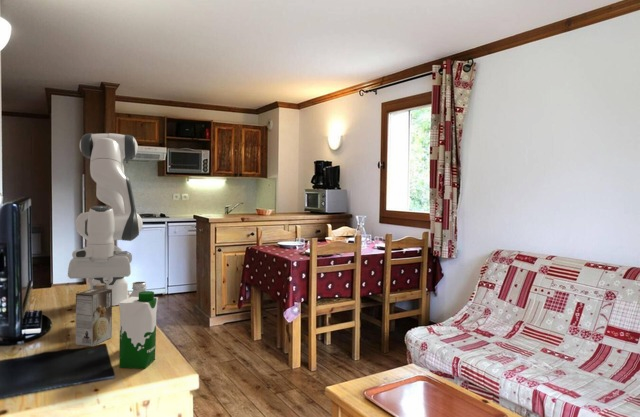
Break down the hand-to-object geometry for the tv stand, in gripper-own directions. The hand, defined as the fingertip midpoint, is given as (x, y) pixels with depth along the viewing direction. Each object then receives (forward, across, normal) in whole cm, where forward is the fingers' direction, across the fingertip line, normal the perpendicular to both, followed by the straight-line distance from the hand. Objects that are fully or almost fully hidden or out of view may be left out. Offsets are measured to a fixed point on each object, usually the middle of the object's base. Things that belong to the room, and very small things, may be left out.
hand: (99, 289), depth 161 cm
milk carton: (+12, -13, +44) cm, 47 cm away
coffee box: (+12, 0, +20) cm, 24 cm away
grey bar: (+2, 0, +4) cm, 4 cm away
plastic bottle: (+12, -13, +30) cm, 35 cm away
